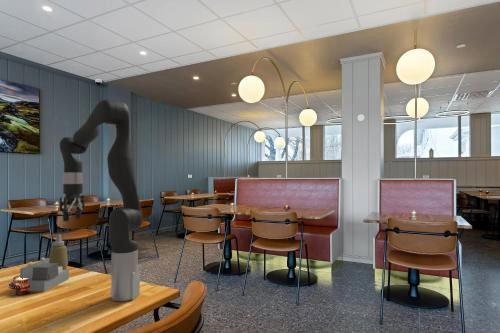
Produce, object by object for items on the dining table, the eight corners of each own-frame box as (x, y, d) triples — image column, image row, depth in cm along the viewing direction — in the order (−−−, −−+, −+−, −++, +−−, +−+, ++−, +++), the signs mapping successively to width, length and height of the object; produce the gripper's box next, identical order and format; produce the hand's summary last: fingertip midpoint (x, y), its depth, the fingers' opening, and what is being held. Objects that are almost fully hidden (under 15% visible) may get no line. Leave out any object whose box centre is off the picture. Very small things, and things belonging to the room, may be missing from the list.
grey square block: (58, 275, 130) (58, 263, 130) (47, 280, 124) (47, 267, 124) (43, 274, 131) (43, 262, 131) (31, 280, 124) (31, 267, 124)
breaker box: (68, 279, 137) (69, 255, 138) (44, 291, 122) (44, 265, 123) (46, 278, 138) (46, 255, 138) (19, 291, 123) (19, 265, 123)
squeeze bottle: (61, 275, 143) (62, 235, 143) (43, 275, 143) (44, 235, 144) (71, 270, 151) (72, 232, 151) (55, 270, 151) (55, 232, 152)
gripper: (71, 183, 130) (70, 222, 130) (90, 182, 145) (89, 217, 144) (53, 183, 131) (53, 222, 130) (74, 182, 145) (74, 217, 144)
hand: (72, 219), depth 137 cm, fingers open, 8 cm apart
